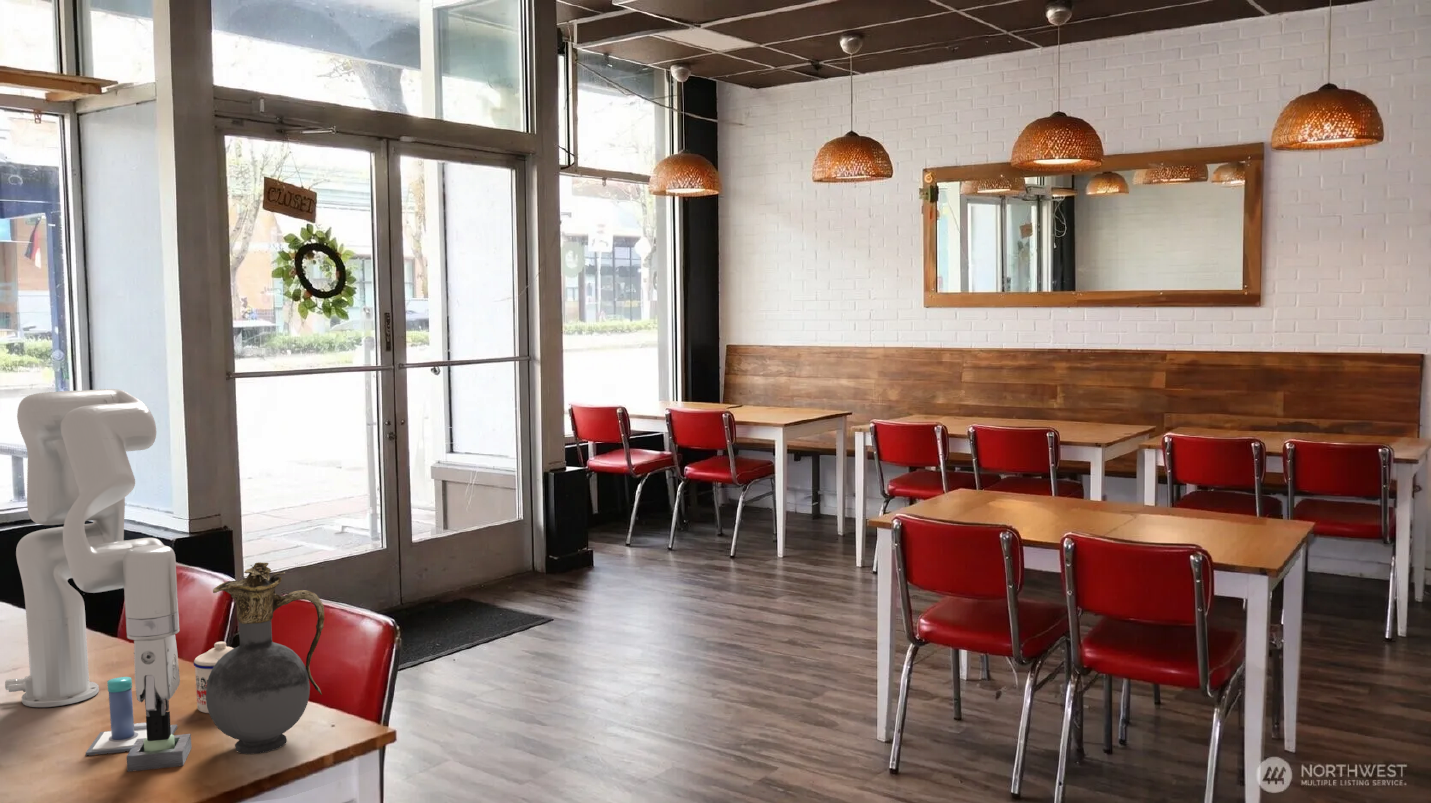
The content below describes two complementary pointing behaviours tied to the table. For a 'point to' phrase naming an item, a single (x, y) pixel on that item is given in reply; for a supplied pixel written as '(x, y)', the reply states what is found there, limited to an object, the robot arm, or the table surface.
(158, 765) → the button base
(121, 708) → the cylinder
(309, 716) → the table surface
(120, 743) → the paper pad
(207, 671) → the teacup with lid
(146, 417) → the robot arm
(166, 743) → the button
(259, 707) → the pitcher
